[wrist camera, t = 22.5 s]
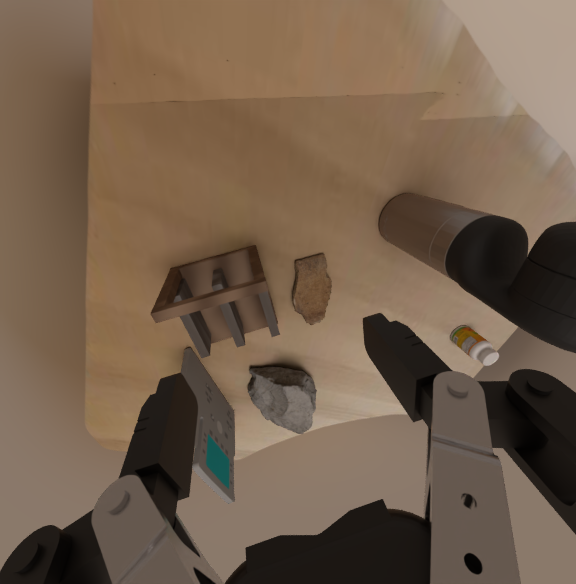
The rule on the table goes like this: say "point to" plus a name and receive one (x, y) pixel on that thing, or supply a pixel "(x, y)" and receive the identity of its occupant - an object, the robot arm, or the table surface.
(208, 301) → the drying rack
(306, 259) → the pottery shard
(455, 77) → the table surface
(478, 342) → the supplement bottle
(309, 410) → the fossil stone
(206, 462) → the office telephone
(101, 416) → the table surface
